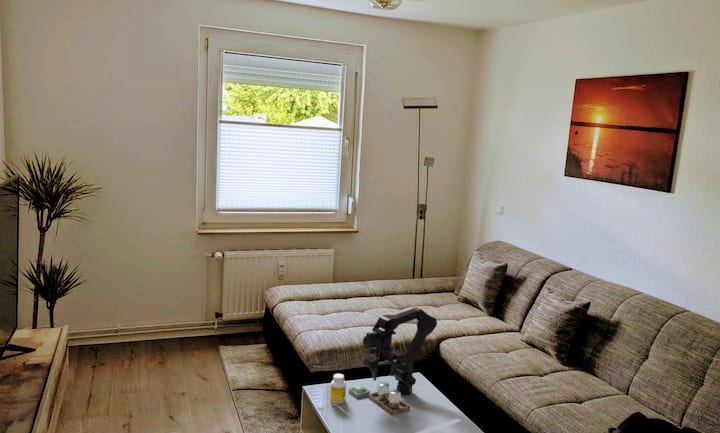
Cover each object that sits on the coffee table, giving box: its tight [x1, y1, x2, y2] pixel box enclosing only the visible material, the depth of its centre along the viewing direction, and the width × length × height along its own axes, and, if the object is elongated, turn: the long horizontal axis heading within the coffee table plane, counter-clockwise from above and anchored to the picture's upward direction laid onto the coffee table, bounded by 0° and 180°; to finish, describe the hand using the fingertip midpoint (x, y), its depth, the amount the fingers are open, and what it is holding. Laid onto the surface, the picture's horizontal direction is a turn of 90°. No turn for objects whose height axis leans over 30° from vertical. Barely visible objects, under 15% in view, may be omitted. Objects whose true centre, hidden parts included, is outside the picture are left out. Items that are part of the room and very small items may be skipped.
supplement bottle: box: [329, 373, 347, 407], centre depth 248 cm, size 7×7×13 cm
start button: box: [354, 385, 365, 393], centre depth 256 cm, size 4×4×3 cm
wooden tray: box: [367, 391, 411, 416], centre depth 248 cm, size 9×18×3 cm, turn 34°
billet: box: [376, 381, 390, 402], centre depth 251 cm, size 5×5×7 cm
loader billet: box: [388, 389, 402, 410], centre depth 244 cm, size 5×5×7 cm
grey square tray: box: [348, 384, 371, 400], centre depth 256 cm, size 7×7×3 cm
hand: (383, 378), depth 250 cm, fingers open, 9 cm apart
